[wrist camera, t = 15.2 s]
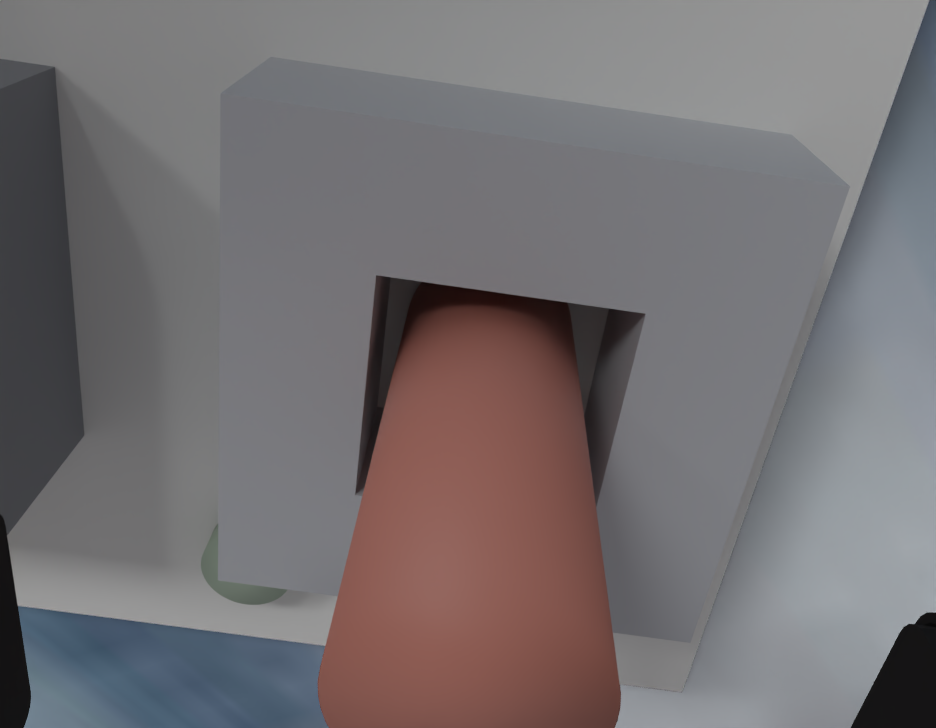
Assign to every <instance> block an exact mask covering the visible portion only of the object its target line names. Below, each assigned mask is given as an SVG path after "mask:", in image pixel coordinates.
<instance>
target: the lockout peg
mask: <svg viewBox="0 0 936 728" xmlns="http://www.w3.org/2000/svg"><path fill="white" fill-rule="evenodd" d="M318 697H319V702H320V707H321V711H322V713H323V716H324V718H325V721H326V723H327V725H328V727H329V728H614V727H615V725H616V723H617V720H618V715H619V711H620V702H621V691H620V683H619V676H618V668H617V661H616V653H615V646H614V638H613V631H612V623H611V616H610V608H609V600H608V593H607V585H606V578H605V570H604V563H603V555H602V548H601V540H600V533H599V525H598V518H597V510H596V503H595V495H594V487H593V480H592V472H591V465H590V457H589V450H588V442H587V435H586V427H585V420H584V412H583V405H582V397H581V390H580V382H579V375H578V367H577V359H576V352H575V344H574V337H573V329H572V322H571V315H570V310H569V307H568V303H567V302H560V301H553V300H546V299H539V298H532V297H525V296H518V295H511V294H504V293H497V292H490V291H483V290H476V289H469V288H462V287H455V286H448V285H441V284H434V283H427V282H421V284H420V285H419V286H418V288H417V289H416V291H415V293H414V295H413V297H412V300H411V303H410V305H409V309H408V313H407V317H406V321H405V325H404V329H403V333H402V337H401V341H400V345H399V350H398V354H397V358H396V362H395V366H394V370H393V374H392V378H391V382H390V386H389V390H388V394H387V398H386V402H385V406H384V410H383V414H382V419H381V423H380V427H379V431H378V435H377V439H376V443H375V447H374V451H373V455H372V459H371V463H370V467H369V471H368V475H367V479H366V483H365V488H364V492H363V496H362V500H361V504H360V508H359V512H358V516H357V520H356V524H355V528H354V532H353V536H352V540H351V544H350V548H349V553H348V557H347V561H346V565H345V569H344V573H343V577H342V581H341V585H340V589H339V593H338V597H337V601H336V605H335V609H334V613H333V617H332V622H331V626H330V630H329V634H328V638H327V642H326V646H325V650H324V654H323V658H322V662H321V666H320V672H319V677H318Z"/></svg>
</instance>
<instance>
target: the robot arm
mask: <svg viewBox="0 0 936 728" xmlns="http://www.w3.org/2000/svg"><path fill="white" fill-rule="evenodd" d="M30 701H31V691H30V684H29V678H28V671H27V665H26V658H25V651H24V645H23V638H22V631H21V625H20V618H19V611H18V605H17V598H16V592H15V585H14V578H13V572H12V565H11V558H10V552H9V545H8V538H7V532H6V525H5V521H4V518H3V517H2V516H1V514H0V728H23V727H24V725H25V723H26V720H27V717H28V713H29V708H30ZM851 728H936V613H926V614H924V615H922V616H921V617H920V618H919V619H918V621H917V622H916V623H915V624H908V625H907V626H905V627H904V628H903V629H902V630H901V632H900V634H899V635H898V637H897V639H896V641H895V643H894V645H893V647H892V649H891V651H890V653H889V655H888V657H887V659H886V661H885V663H884V664H883V666H882V668H881V670H880V672H879V674H878V676H877V678H876V680H875V682H874V684H873V686H872V688H871V690H870V691H869V693H868V695H867V697H866V699H865V701H864V703H863V705H862V707H861V709H860V711H859V713H858V715H857V717H856V719H855V720H854V722H853V724H852V726H851Z"/></svg>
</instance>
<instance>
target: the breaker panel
mask: <svg viewBox="0 0 936 728" xmlns="http://www.w3.org/2000/svg"><path fill="white" fill-rule="evenodd" d="M928 3H929V0H0V514H1V516H2V517H3V518H4V521H5V525H6V532H7V538H8V545H9V552H10V558H11V565H12V572H13V578H14V585H15V592H16V598H17V605H18V606H23V607H31V608H39V609H46V610H54V611H62V612H69V613H77V614H85V615H92V616H100V617H108V618H115V619H123V620H131V621H138V622H146V623H154V624H161V625H169V626H177V627H184V628H192V629H200V630H207V631H215V632H223V633H230V634H238V635H246V636H253V637H261V638H268V639H276V640H284V641H291V642H299V643H307V644H314V645H322V646H326V642H327V638H328V634H329V630H330V626H331V622H332V617H333V613H334V609H335V605H336V601H337V597H338V593H339V589H340V585H341V581H342V577H343V573H344V569H345V565H346V561H347V557H348V553H349V548H350V544H351V540H352V536H353V532H354V528H355V524H356V520H357V516H358V512H359V508H360V504H361V500H362V496H363V492H364V488H365V483H366V479H367V475H368V471H369V467H370V463H371V459H372V455H373V451H374V447H375V443H376V439H377V435H378V431H379V427H380V423H381V419H382V414H383V410H384V406H385V402H386V398H387V394H388V390H389V386H390V382H391V378H392V374H393V370H394V366H395V362H396V358H397V354H398V350H399V345H400V341H401V337H402V333H403V329H404V325H405V321H406V317H407V313H408V309H409V305H410V303H411V300H412V297H413V295H414V293H415V291H416V289H417V288H418V286H419V285H420V284H421V282H427V283H434V284H441V285H448V286H455V287H462V288H469V289H476V290H483V291H490V292H497V293H504V294H511V295H518V296H525V297H532V298H539V299H546V300H553V301H560V302H567V303H568V307H569V310H570V315H571V322H572V329H573V337H574V344H575V352H576V359H577V367H578V375H579V382H580V390H581V397H582V405H583V412H584V420H585V427H586V435H587V442H588V450H589V457H590V465H591V472H592V480H593V487H594V495H595V503H596V510H597V518H598V525H599V533H600V540H601V548H602V555H603V563H604V570H605V578H606V585H607V593H608V600H609V608H610V616H611V623H612V631H613V638H614V646H615V653H616V661H617V668H618V676H619V683H620V684H621V685H628V686H636V687H644V688H651V689H659V690H667V691H674V692H682V691H683V689H684V686H685V683H686V680H687V677H688V675H689V672H690V669H691V666H692V663H693V661H694V658H695V655H696V652H697V649H698V647H699V644H700V641H701V638H702V635H703V633H704V630H705V627H706V624H707V622H708V619H709V616H710V613H711V610H712V608H713V605H714V602H715V599H716V596H717V594H718V591H719V588H720V585H721V582H722V580H723V577H724V574H725V571H726V568H727V566H728V563H729V560H730V557H731V554H732V552H733V549H734V546H735V543H736V540H737V538H738V535H739V532H740V529H741V526H742V524H743V521H744V518H745V515H746V512H747V510H748V507H749V504H750V501H751V498H752V496H753V493H754V490H755V487H756V484H757V482H758V479H759V476H760V473H761V470H762V468H763V465H764V462H765V459H766V456H767V454H768V451H769V448H770V445H771V442H772V440H773V437H774V434H775V431H776V428H777V426H778V423H779V420H780V417H781V414H782V412H783V409H784V406H785V403H786V400H787V398H788V395H789V392H790V389H791V386H792V384H793V381H794V378H795V375H796V372H797V370H798V367H799V364H800V361H801V358H802V356H803V353H804V350H805V347H806V344H807V342H808V339H809V336H810V333H811V330H812V328H813V325H814V322H815V319H816V316H817V314H818V311H819V308H820V305H821V302H822V300H823V297H824V294H825V291H826V288H827V286H828V283H829V280H830V277H831V274H832V272H833V269H834V266H835V263H836V260H837V258H838V255H839V252H840V249H841V246H842V244H843V241H844V238H845V235H846V232H847V230H848V227H849V224H850V221H851V218H852V216H853V213H854V210H855V207H856V204H857V202H858V199H859V196H860V193H861V190H862V188H863V185H864V182H865V179H866V176H867V174H868V171H869V168H870V165H871V162H872V160H873V157H874V154H875V151H876V148H877V146H878V143H879V140H880V137H881V134H882V132H883V129H884V126H885V123H886V120H887V118H888V115H889V112H890V109H891V106H892V104H893V101H894V98H895V95H896V92H897V90H898V87H899V84H900V81H901V78H902V76H903V73H904V70H905V67H906V64H907V62H908V59H909V56H910V53H911V50H912V48H913V45H914V42H915V39H916V36H917V34H918V31H919V28H920V25H921V22H922V20H923V17H924V14H925V11H926V8H927V6H928Z"/></svg>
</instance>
